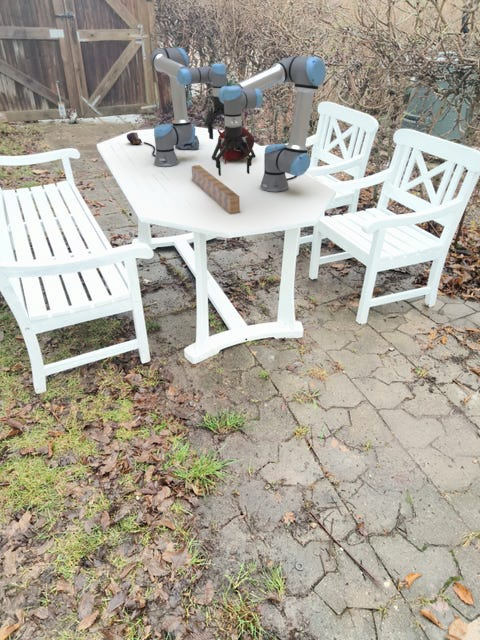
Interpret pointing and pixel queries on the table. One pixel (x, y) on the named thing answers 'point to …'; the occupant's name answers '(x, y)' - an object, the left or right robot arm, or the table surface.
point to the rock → (133, 138)
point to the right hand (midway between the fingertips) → (233, 174)
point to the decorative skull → (237, 153)
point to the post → (216, 189)
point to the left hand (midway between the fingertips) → (220, 137)
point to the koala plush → (190, 144)
